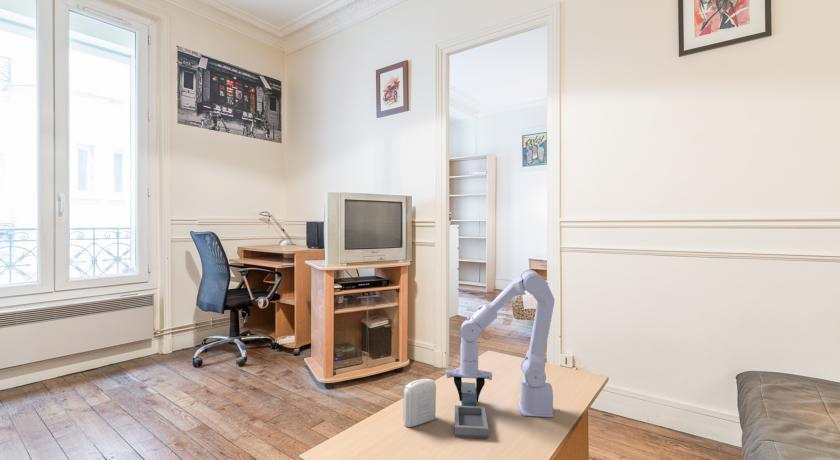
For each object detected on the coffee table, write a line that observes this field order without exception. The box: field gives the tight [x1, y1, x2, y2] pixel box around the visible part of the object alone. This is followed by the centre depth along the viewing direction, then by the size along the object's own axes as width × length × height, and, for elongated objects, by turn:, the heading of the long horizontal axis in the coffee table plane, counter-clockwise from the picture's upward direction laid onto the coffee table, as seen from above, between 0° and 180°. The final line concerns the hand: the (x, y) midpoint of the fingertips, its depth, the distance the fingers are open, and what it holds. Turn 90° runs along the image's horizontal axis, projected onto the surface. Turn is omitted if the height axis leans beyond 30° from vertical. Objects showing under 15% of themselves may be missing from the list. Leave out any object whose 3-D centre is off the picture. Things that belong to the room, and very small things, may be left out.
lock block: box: [460, 381, 478, 406], centre depth 124 cm, size 4×8×6 cm, turn 175°
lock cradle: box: [454, 404, 489, 440], centre depth 112 cm, size 9×12×3 cm
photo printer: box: [402, 378, 437, 428], centre depth 114 cm, size 10×4×12 cm, turn 123°
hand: (468, 400), depth 124 cm, fingers closed on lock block, 4 cm apart
